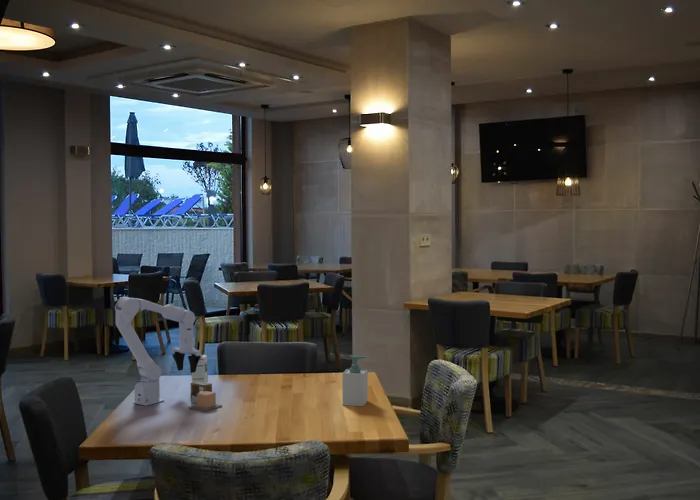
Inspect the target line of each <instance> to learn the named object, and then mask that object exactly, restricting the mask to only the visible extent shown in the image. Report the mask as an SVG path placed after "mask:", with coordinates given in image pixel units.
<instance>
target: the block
mask: <svg viewBox="0 0 700 500" xmlns="http://www.w3.org/2000/svg"><path fill="white" fill-rule="evenodd" d="M216 396H217V395H216V392H213V391H212V392H209V391H205V392H201V393H197V403H196V405H197V406H198V407H203V408H208V407H212V406H215V405H216V404H217V402H216V400H217V399H216Z"/></svg>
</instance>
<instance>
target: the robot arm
mask: <svg viewBox="0 0 700 500" xmlns="http://www.w3.org/2000/svg"><path fill="white" fill-rule="evenodd" d="M114 310H115V325H116V326H115V327H117V329H118V331H119V333H120V335H121V336H122V338H123V340H124V341H125V344H126V345H127V347H128V348H129V350H130V352H131V353H132V355H133V358H134V359H135V360H136V366H137V368H138V374H139V376H140V381H139V382H137V383H136V384H135V386H134V401H133V403H132V404H137V405H142V406H147V407H148V406H150V405H154V404H157V403H162V402H164V401H165V399H162V398H160V397H161V396H160V394H161V393H160V391H161V390H160V378H161V376H162V374H163V372H162V368H161V367H160V366H159V365H158V364H156V362H155V360H153V359H152V357H150V355H149V354H148V351H147V349H146V348H145V346H144V345H143V342H142V341H141V340H140V338H139V336H138V334H137V332H136V330H135V329H134V327H133V325H132V321H133V319H134V318H135V316H136V315H137V313H138V312H139V311H140V312H142V311H144V310H147V311H151V312H155V313H159V314H161V316H162V317H163V318H164V319H167V320H170V321H174V322H176V323H177V322H178V326H179V327H178V332H179V333H178V336H179V339H178V341H179V343H178V345H179V347H178V346H177V347H176V346H175V347H173V348H172V353H173V354H172V355H171V356H172V358H173V359H174V362H175V364H176V368H177V371H178V372H180V371H183V370H184V359H185V355H188V356H187V359H188V362H189V371H190V374H192V373H194V372H196V368H197V364H198V362H199V359H200V358H201V355H202V354H201V350H199V349H197V348H195V347H194V323H195V321H196V319H197V318H196V315H195V313H194V312H193V311H191V310H188V309H185V307H182V306H181V307H178V306H175V304H173V303H170V304H169V303H168V304H165V305H161V304H158V303H155V302H152V301H150V300H147V299H142V298H137V297H135V298H134V297H129V296H122V297H120V298H118V300H117V301H116V303H115V306H114Z"/></svg>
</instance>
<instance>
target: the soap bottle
mask: <svg viewBox="0 0 700 500" xmlns="http://www.w3.org/2000/svg"><path fill="white" fill-rule="evenodd" d="M349 357H350V358H352V362H353V363H352V364H351V366H350V367H349V368H346V369H345V370H344V371H343V372H342V377H341V378H342V379H341V380H342V385H341V386H342V389H341V390H342V393H341V394H342V406H347V407H348V406H351V407H365V405H366V404H367V403H368V400H369V399H368V398H369V397H368V394H369V393H368V384H369V383H368V378H369V377H368V374H369V373H368V372H369V371H368V369H361V367H359V366H360V365H359V363H357V362H358V360H361V359H367V356H366V355H349Z"/></svg>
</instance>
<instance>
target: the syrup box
mask: <svg viewBox="0 0 700 500" xmlns="http://www.w3.org/2000/svg"><path fill="white" fill-rule="evenodd" d="M208 374H209V373H208V355H207V354H201V358H200V359H199V362H198V364H197V368H196V372H194V373H191V383H192V382H196V381H200V382H206V383H209V381H208V380H209V379H208V378H209V377H208V376H209V375H208ZM202 390H203V387H200V386H199V391H202Z"/></svg>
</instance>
